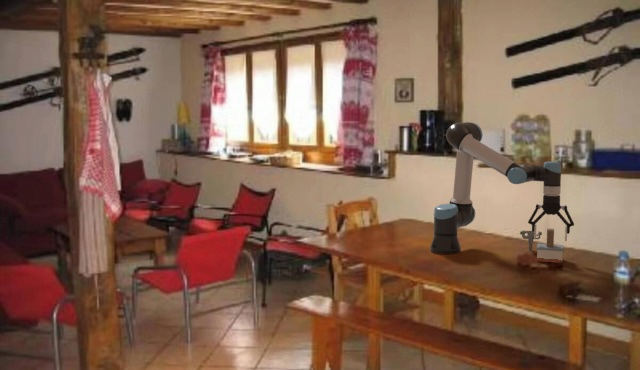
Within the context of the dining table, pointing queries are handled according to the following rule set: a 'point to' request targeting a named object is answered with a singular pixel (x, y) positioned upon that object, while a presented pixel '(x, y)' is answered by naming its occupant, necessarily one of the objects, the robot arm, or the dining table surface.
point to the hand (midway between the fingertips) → (550, 239)
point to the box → (549, 254)
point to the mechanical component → (530, 237)
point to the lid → (550, 243)
